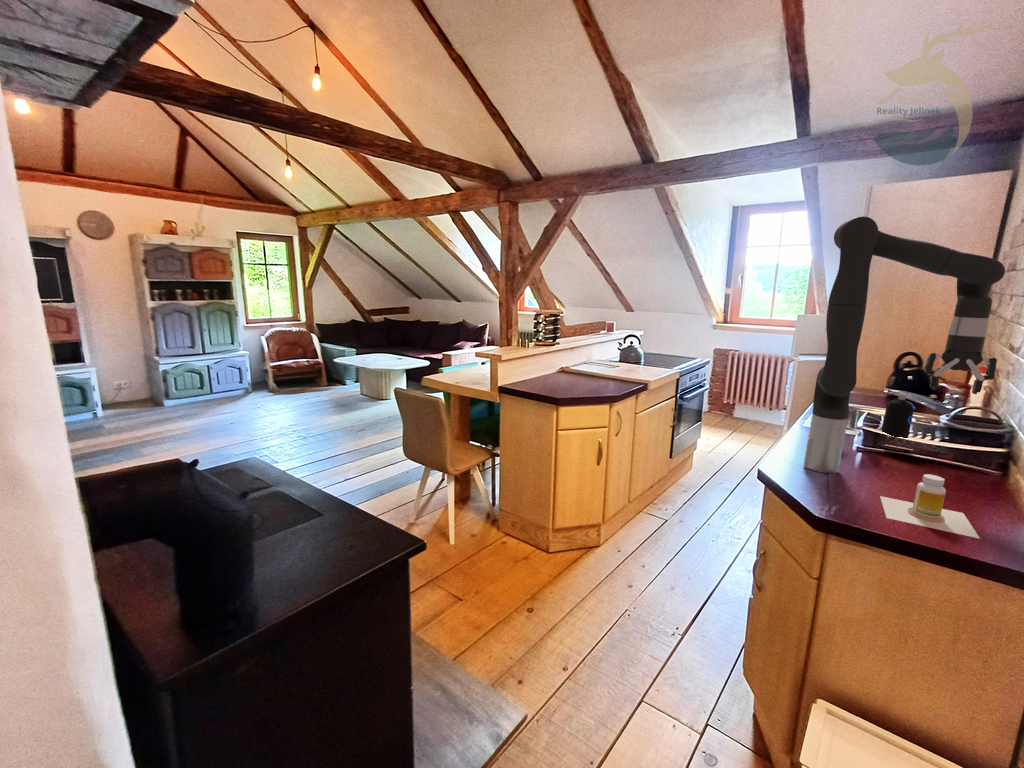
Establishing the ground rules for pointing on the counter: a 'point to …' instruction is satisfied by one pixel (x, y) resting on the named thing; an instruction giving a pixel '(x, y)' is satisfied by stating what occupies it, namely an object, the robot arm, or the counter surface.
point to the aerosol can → (898, 417)
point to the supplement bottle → (929, 496)
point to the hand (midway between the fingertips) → (953, 391)
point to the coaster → (925, 517)
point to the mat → (951, 523)
